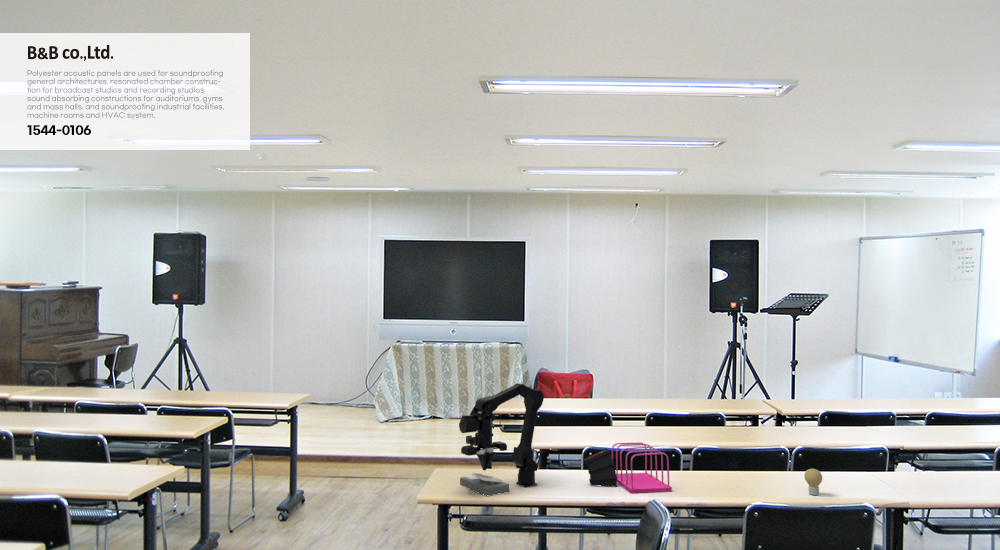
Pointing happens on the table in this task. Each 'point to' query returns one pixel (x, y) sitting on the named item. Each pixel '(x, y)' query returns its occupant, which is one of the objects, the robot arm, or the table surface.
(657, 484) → the file sorter
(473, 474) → the rocker
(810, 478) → the light bulb
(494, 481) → the rocker
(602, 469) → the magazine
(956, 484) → the table surface
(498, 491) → the rocker switch panel
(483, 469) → the robot arm
